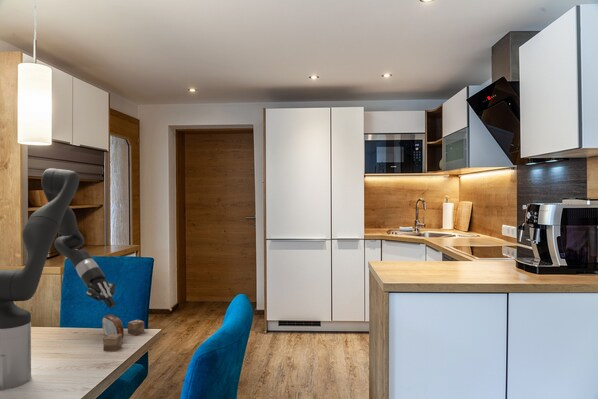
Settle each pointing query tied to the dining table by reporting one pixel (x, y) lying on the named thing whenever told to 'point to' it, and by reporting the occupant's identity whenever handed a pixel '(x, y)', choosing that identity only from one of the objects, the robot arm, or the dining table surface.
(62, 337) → the dining table surface
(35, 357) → the dining table surface
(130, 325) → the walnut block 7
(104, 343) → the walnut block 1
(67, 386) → the dining table surface
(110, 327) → the tin
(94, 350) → the dining table surface
